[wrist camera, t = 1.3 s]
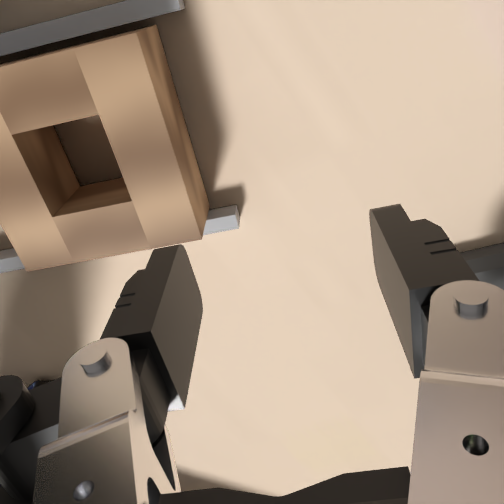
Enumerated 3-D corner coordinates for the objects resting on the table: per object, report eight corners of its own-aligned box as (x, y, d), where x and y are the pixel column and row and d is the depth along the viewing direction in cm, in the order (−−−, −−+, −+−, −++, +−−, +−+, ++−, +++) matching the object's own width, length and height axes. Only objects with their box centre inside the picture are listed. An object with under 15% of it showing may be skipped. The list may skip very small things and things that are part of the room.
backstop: (-211, 44, 26) (-329, 60, 21) (167, -60, 23) (138, -72, 18) (-41, 296, 35) (-94, 351, 30) (246, 244, 32) (243, 295, 27)
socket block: (-27, 70, 26) (-77, 86, 22) (156, 24, 25) (136, 32, 21) (56, 236, 32) (27, 271, 28) (209, 206, 30) (201, 239, 26)
